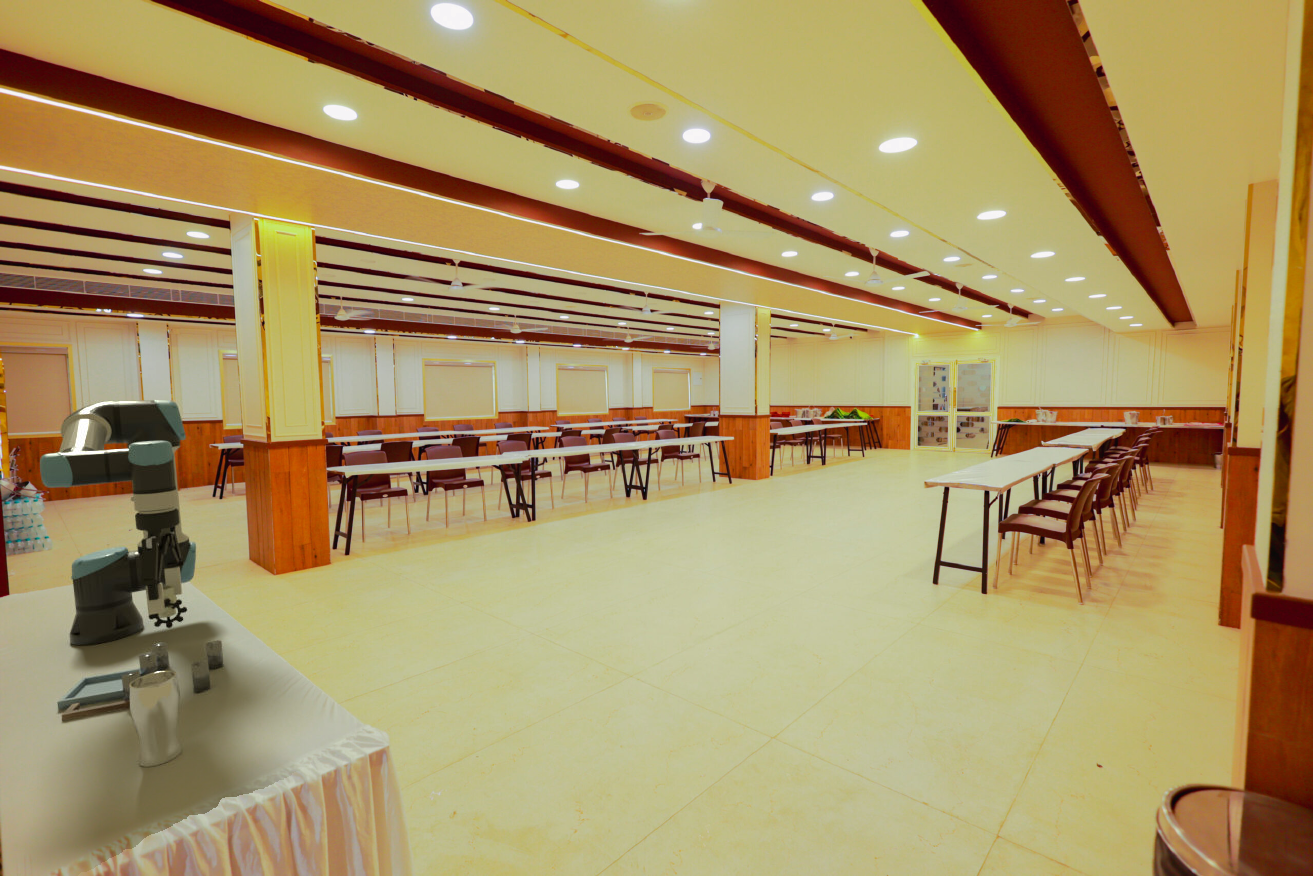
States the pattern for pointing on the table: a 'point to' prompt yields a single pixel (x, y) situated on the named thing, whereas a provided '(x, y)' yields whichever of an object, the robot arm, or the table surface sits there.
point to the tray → (95, 690)
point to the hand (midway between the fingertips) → (166, 603)
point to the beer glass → (156, 716)
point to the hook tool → (93, 709)
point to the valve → (169, 608)
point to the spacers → (160, 662)
